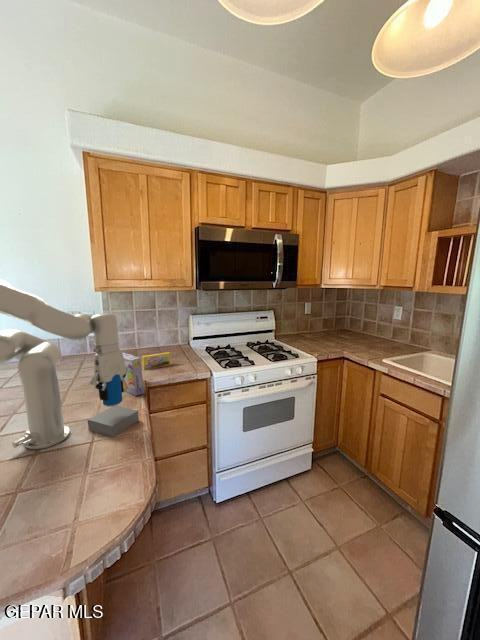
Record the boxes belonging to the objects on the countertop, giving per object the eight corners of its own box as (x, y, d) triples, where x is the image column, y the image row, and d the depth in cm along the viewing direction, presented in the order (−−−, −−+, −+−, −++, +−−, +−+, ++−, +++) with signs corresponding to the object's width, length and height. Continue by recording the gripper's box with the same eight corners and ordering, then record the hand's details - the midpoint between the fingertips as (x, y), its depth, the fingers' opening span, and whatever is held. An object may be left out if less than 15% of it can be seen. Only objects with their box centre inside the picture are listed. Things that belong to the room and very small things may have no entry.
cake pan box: (115, 386, 136) (112, 352, 133) (124, 383, 140) (121, 350, 137) (134, 397, 124) (132, 360, 121) (144, 393, 128) (142, 357, 125)
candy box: (143, 370, 161) (142, 356, 159) (142, 369, 162) (142, 356, 161) (170, 365, 169) (169, 352, 168) (169, 364, 171) (168, 351, 170)
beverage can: (117, 398, 104) (114, 368, 102) (126, 402, 100) (123, 371, 98) (100, 404, 99) (96, 372, 97) (108, 409, 95) (105, 376, 93)
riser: (112, 437, 93) (111, 426, 92) (88, 429, 97) (87, 419, 97) (138, 420, 104) (137, 410, 103) (115, 414, 108) (114, 405, 108)
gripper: (93, 355, 87) (98, 408, 90) (133, 343, 102) (137, 388, 105) (77, 353, 90) (83, 404, 92) (119, 341, 105) (123, 385, 108)
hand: (112, 395), depth 99 cm, fingers closed on beverage can, 6 cm apart
